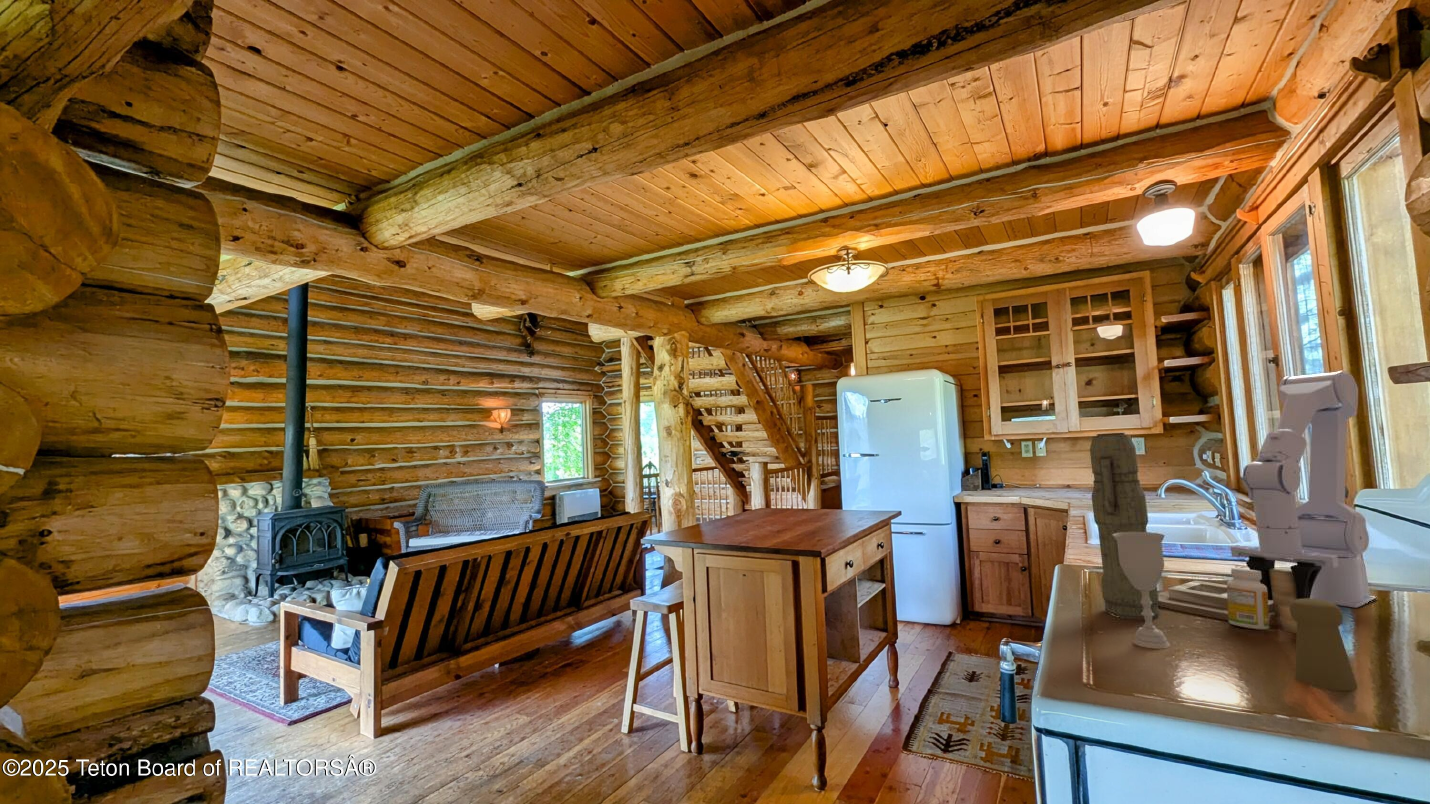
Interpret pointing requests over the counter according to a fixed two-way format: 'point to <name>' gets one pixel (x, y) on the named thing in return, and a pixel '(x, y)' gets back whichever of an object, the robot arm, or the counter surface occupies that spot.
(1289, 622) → the short oak dowel
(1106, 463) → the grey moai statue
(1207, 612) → the collar board
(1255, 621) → the supplement bottle
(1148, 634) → the chalice
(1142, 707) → the counter surface
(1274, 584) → the long oak dowel
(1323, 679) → the olive tapered capped post
